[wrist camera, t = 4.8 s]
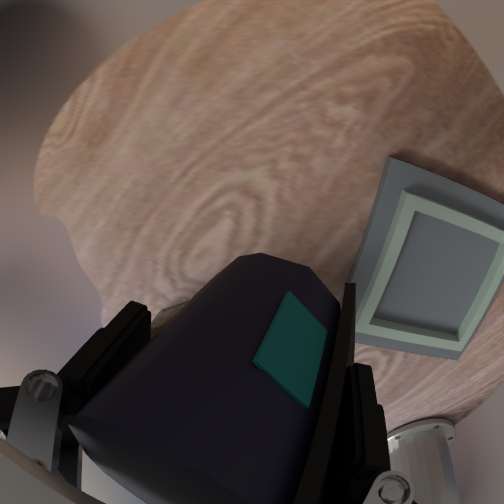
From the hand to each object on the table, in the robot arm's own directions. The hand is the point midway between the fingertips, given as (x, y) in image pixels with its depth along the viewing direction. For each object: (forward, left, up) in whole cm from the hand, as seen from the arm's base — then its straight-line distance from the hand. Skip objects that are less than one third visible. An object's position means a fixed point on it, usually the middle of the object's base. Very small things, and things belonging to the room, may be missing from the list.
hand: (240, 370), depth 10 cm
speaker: (0, -1, -3) cm, 3 cm away
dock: (-1, -14, -16) cm, 21 cm away
